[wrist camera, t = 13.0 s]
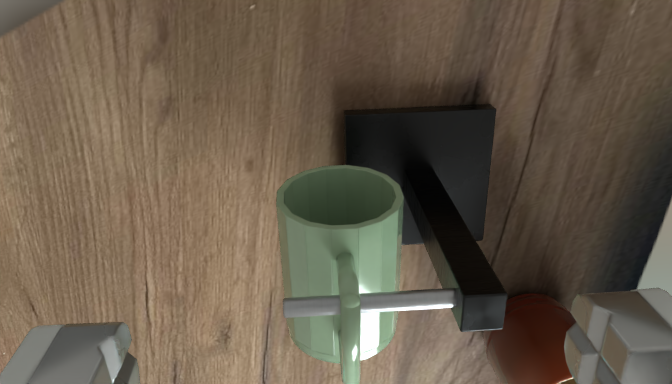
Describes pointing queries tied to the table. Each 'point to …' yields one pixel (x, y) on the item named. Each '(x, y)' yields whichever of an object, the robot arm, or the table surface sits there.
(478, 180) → the mug stand
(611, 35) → the table surface
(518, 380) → the mug
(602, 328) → the robot arm
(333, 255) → the green mug
